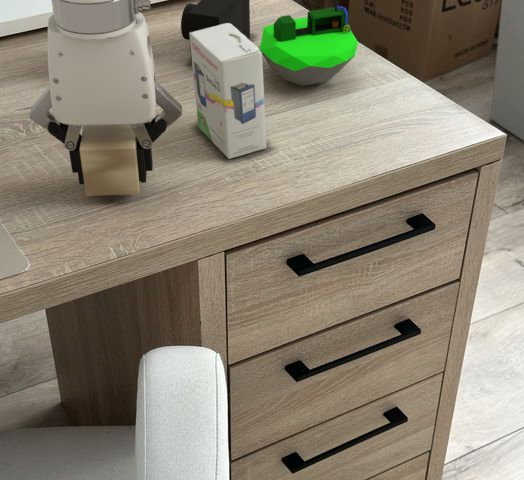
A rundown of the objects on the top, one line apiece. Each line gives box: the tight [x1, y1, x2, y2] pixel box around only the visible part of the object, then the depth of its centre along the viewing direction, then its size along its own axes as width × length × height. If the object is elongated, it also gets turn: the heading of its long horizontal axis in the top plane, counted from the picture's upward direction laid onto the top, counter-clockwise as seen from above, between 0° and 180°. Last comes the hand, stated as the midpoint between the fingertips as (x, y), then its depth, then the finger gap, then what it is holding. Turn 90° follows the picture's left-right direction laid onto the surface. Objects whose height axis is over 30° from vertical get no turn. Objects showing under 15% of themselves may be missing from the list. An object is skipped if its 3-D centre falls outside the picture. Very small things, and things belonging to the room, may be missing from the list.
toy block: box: [80, 124, 141, 197], centre depth 98 cm, size 6×6×6 cm
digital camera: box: [180, 0, 251, 65], centre depth 123 cm, size 10×5×7 cm, turn 160°
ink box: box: [189, 23, 267, 160], centre depth 105 cm, size 9×5×12 cm, turn 27°
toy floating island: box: [259, 0, 359, 86], centre depth 116 cm, size 12×12×11 cm
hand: (113, 174), depth 100 cm, fingers closed on toy block, 5 cm apart
